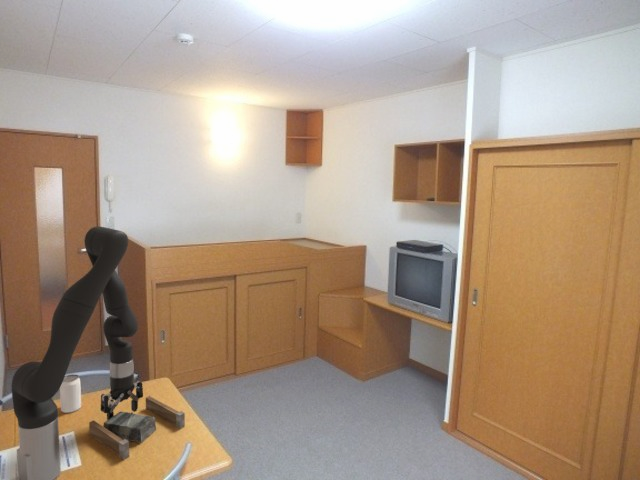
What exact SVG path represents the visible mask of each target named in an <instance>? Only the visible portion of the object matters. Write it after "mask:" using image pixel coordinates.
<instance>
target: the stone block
mask: <svg viewBox="0 0 640 480" xmlns="http://www.w3.org/2000/svg"><path fill="white" fill-rule="evenodd" d="M103 427H105V428H106V429H108V430H109V431H111V432H112V433H114V434H115V435H117V436H118V437H120V438H121V439H123V440H124V439H126V440H128V441H129V442H137V443H139V444H142V443H143V442H144V441H145V440H146V439H148V438H149V437H150V436H151V435H152V434H153V432H156V430H157V425H156V416H150V415H143V414H136V413H134V412H133V411H132V412H128V411H119V412H117V413H115V414H114V416H113V417H111V418H110V419H109V420H107V419H106V421H104V422H103Z"/></svg>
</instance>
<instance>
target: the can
mask: <svg viewBox="0 0 640 480" xmlns="http://www.w3.org/2000/svg"><path fill="white" fill-rule="evenodd" d="M81 390H82V389H81V379H80V376H79V375H78V374H74V373H73V374H67V375H65V377H64V380H63V382H62V384H61V386H60V388H59V398H60V399H59V400H60V401H59V402H60V411H61V412H62V413H64V414H71V413H76V412H77V411H79V410H80V409H81V407H82V391H81Z"/></svg>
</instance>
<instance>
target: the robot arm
mask: <svg viewBox="0 0 640 480" xmlns="http://www.w3.org/2000/svg"><path fill="white" fill-rule="evenodd" d="M128 246H129V237H128V235H127V233H126V232H124V231H122V230H119V229H114V228H110V227H105V226H93V227H91V228H90V229H89V230H88V231H87V232H86V234H85V236H84V248H85V250H86V253H87V255H88V258H89V260H90V262H91V266H92V267H91V269H90V270H89V271H88V272H87V273H86V274H84V275H83V276H82V277H81V278H79V279H78V280H77V281H76V282H74V284H72V285H71V286H70V287H68V289H67V290H66V291H65V292H63V295H62V296H61V298H60V300H59V302H58V304H57V306H56V308H55V309H54V313H53V315H52V319H51V328H50V339H49V345H48V348H47V350H46V352H45V354H44V355H43V356H44V357H43V359H42V360H41V361H35V360H33V361H29V362H26V363H24V364H22V365H21V366H20V367H18V368H17V370H16V371H15V372H14V375H13V377H12V380H11V397H12V405H13V411H14V415H15V417H16V419H17V426H18V443H19V448H17V449H16V460H17V474H18V476H17V477H18V480H55V479H57V478H58V477H59V476H60V473H61V471H62V470H61V454H60V453H61V452H60V451H61V450H60V434H59V433H60V431H59V430H60V429H59V427H60V426H59V409H58V405H57V404H56V403H55V402H54V399H53V397H54V396H55V395H56V394H57V393H58V392H59V391H60V386H61V384H62V382H63V380H64V377H65V376H66V374H67V371H68V369H69V366H70V363H71V361H72V358H73V355H74V353H75V350H76V348H77V346H78V345H79V342H80V340H81V337H82V335H83V333H84V331H85V329H86V327H87V325H88V323H89V321H90V319H91V317H92V315H93V313H94V312H95V309H96V307H97V305H98V303H99V300H100V299H101V296H102V298H103V303H104V308H105V312H106V313H107V314H108V315H109V316H108V317H106V319H104V322H103V327H102V329H103V334H104V337H105V340H106V342H107V346H108V349H109V388H110V391H109V393H106V394H105V393H101V395H100V411H101V412H102V413H104V414H106V421H107V420H109V419H110V418H111V417H113V416H114V415H115V414H114V410H115V408H116V407H117V406H118V405H119V403H122V402H124V401H127V400H129V398H130V399H131V401H130V405H131V411H132V412H133V413H135V412H137V411H138V408H139V406H138V405H139V400H140V399H142V398H143V397H144V391H143V390H144V388H143V382H142V381H140V380H138V379H136V380H135V371H134V370H135V366H134V357H133V356H134V355H133V354H134V353H133V352H134V351H133V343H131V342H130V341H128V340H124V339H123V338H131V337H134V336H135V335H136V333H137V332H138V329H139V323H138V322H139V321H138V319H137V317H136V315H135V312H133V310H132V307H131V306H130V304H129V299H128V293H127V289H126V286H125V284H124V282H123V280H122V278H121V277H120V275H119V274H118V272H117V271H116V269H117V267H118V266H119V264H120V262H122V260H123V258H124V255H125V254H126V251H127V250H128ZM134 390H135V393H133V391H134ZM114 401H115V402H114Z"/></svg>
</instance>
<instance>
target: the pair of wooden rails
mask: <svg viewBox="0 0 640 480" xmlns="http://www.w3.org/2000/svg"><path fill="white" fill-rule="evenodd" d="M145 410H147V411H148V412H151V413H152V414H154V415H156V416H157V417H159V418H161V419H162V420H165V422H166V421H167V422H168V423H170V424H172V425H173V426H175V427H176V428H177V429H179V430H180V429H182V428H185V425H186V424H185V423H186V422H185V421H186V420H185V418H186V417H185V416H186V415H185V412H184V411H182V410H180V411H178V410H176V409H175V408H173V407H170V406H169V405H167V404H166V403H163V402H162V401H159V400H158V399H156V398H154V397H152V396H150V395H148V396H146V397H145ZM88 423H89V424H88V425H89V427H88V428H89V430H88V431H89V436H91V437H92V438H93V439H95V440H96V441H97V442H99V443H100V444H102V445H103V446H104V447H106V448H107V449H109V450H110V451H112V452H113V453H114V454H115V455H118V456H119V458H120V459H121V460H122V461H124V460H125V459H128V458H130V441H129V440H126V439H123V438H120V437H118V436H117V435H115V434H114V433H112V432H111V431H109V430H108V429H106V428H105V427H104V425H102V424H101V423H98V422H97V421H95V420H91V421H89V422H88Z"/></svg>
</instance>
